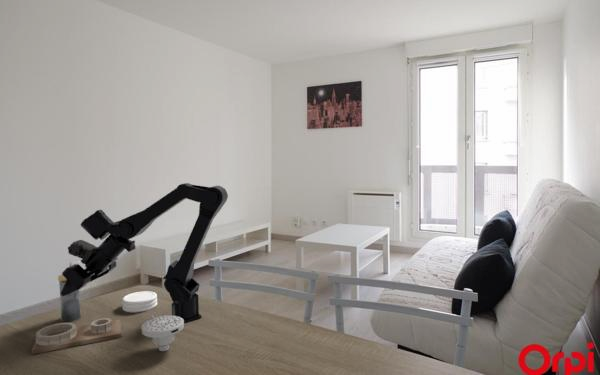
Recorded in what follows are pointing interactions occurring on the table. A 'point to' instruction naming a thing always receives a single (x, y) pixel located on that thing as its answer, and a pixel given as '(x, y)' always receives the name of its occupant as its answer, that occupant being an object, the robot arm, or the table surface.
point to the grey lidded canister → (69, 303)
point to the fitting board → (82, 338)
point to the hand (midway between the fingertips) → (71, 289)
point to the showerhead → (162, 329)
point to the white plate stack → (139, 301)
